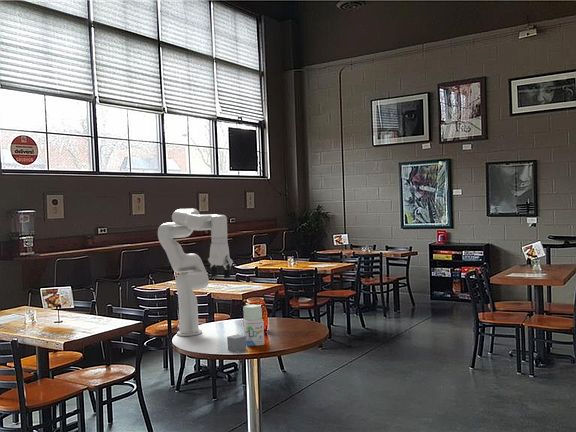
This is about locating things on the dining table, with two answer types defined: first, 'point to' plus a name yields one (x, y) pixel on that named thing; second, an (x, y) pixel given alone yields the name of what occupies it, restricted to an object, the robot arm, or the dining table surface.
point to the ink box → (254, 332)
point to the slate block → (236, 343)
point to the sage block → (252, 312)
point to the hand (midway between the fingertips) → (220, 276)
